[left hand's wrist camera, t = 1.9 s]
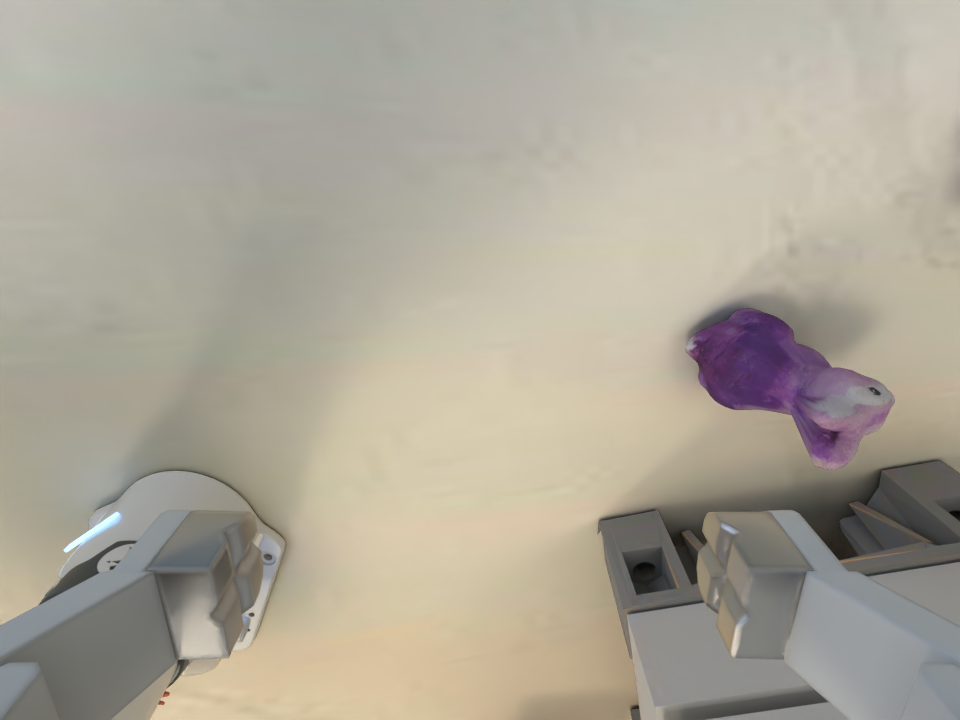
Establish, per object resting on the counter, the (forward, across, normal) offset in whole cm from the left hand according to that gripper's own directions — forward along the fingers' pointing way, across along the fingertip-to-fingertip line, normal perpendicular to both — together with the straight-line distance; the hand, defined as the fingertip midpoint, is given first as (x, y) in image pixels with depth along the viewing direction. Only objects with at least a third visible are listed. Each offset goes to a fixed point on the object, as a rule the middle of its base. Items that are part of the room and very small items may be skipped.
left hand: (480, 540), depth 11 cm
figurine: (+39, -24, +11) cm, 47 cm away
